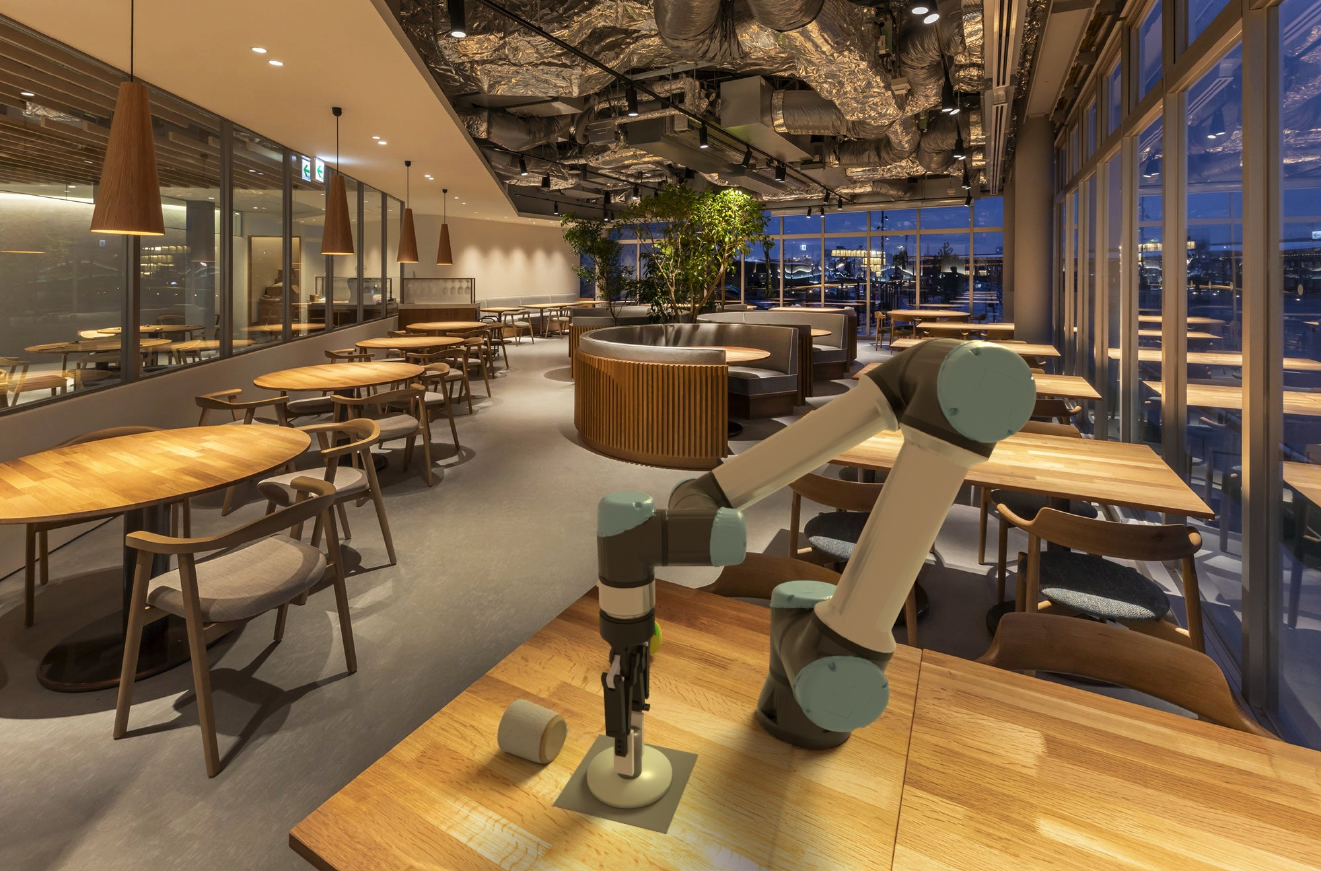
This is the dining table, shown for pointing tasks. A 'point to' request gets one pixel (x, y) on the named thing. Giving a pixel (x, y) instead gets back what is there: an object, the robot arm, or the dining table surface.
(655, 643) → the lemon
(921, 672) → the dining table surface
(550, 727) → the ceramic mug
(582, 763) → the mat
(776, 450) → the robot arm
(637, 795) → the lid
